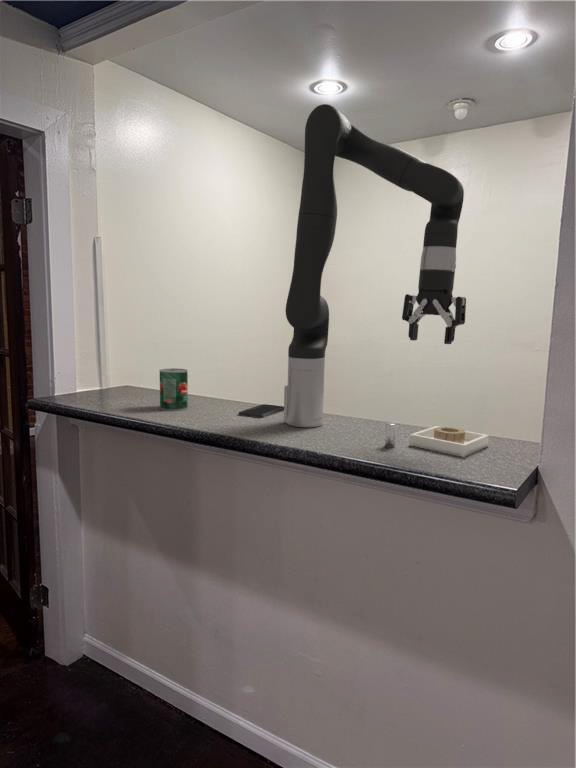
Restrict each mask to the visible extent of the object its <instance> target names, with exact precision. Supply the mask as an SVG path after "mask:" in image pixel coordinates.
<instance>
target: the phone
mask: <svg viewBox="0 0 576 768" xmlns="http://www.w3.org/2000/svg"><path fill="white" fill-rule="evenodd" d="M280 412H284V405H283V406H282V405H274V404H266V403H264V404H259V405H257V406H253V407H251V408H250V407H249V408H247V409H244V410H240V411H238V416H240V417H248V418H249V417H250V418H255V419H256V418H257V419H264V418H267V417H270V416H273V415H275V414H279V413H280Z"/></svg>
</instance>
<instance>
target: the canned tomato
mask: <svg viewBox="0 0 576 768" xmlns="http://www.w3.org/2000/svg"><path fill="white" fill-rule="evenodd" d="M158 371H159V409H160V410H163V411H168V412H169V411H170V412H171V411H172V412H173V411H174V412H176V411H184V410H187V409H188V406H189V405H188V404H189V403H188V402H189V401H188V400H189V397H188V395H189V394H188V393H189V392H188V391H189V390H188V389H189V388H188V386H189V385H188V383H189V382H188V378H189V377H188V375H189V374H188V369H185V368H161V369H159V370H158Z"/></svg>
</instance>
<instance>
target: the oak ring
mask: <svg viewBox="0 0 576 768" xmlns="http://www.w3.org/2000/svg"><path fill="white" fill-rule="evenodd" d="M465 431H466V430H464V429H462V428H458V427H453V426H440V427H437V428H434V438H435V439H440V440H445V441H450V442H455V443H460V444H464V440H465Z"/></svg>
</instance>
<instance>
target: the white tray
mask: <svg viewBox="0 0 576 768" xmlns="http://www.w3.org/2000/svg"><path fill="white" fill-rule="evenodd" d="M437 427H441V426H438V425H435V426H431V427H429V428H425V429H422V430H420V431H417V432H413V433H411V434H409V443H408V445H410V447H414V446H415V448H418V447H419V448H420V449H423V448H424V450H428V449H429V450H428V451H434V452H437V451H438V453H442V454H449V455H451V456H457V457H461V458H465V457H468V456H471V455H472V454H474V453H476V452H478V451H481V450H483V449H485V448H487V447H489V439H490V438H489V437H490V435H489V434H484V433H483V434H482V433H478V432H473V431H467V430H464V431H465V440H464V444H460V443H455V442H450V441H445V440H440V439H435V438H434V428H437Z"/></svg>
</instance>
